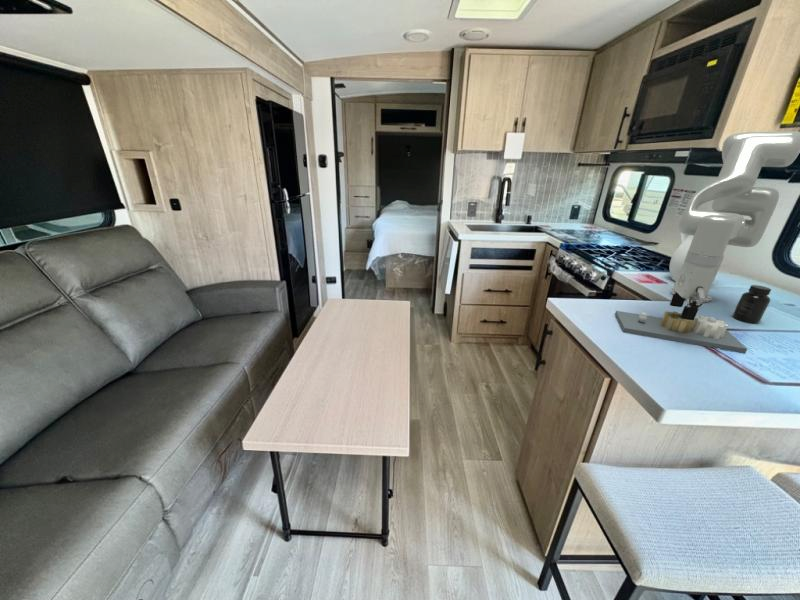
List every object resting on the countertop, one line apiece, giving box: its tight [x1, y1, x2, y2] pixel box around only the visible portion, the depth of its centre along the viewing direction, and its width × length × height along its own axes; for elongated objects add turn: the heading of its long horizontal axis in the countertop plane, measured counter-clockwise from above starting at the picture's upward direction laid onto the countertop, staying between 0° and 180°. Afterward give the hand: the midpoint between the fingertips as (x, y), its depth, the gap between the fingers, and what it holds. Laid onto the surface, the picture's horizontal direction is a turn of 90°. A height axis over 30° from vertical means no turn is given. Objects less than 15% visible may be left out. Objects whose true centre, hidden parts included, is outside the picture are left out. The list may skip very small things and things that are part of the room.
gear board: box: [614, 310, 748, 354], centre depth 103 cm, size 14×30×6 cm, turn 68°
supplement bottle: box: [732, 284, 772, 324], centre depth 111 cm, size 7×7×12 cm
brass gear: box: [660, 310, 695, 333], centre depth 102 cm, size 8×8×4 cm
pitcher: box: [669, 231, 723, 282], centre depth 146 cm, size 24×17×28 cm
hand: (680, 312), depth 101 cm, fingers open, 9 cm apart
